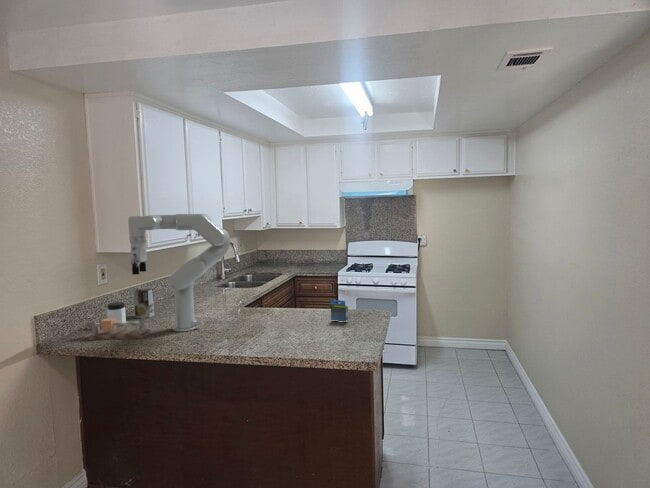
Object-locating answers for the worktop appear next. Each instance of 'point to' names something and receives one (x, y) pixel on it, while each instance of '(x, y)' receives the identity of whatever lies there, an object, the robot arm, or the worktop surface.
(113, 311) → the jar
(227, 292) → the worktop surface
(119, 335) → the cube slider rail
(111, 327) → the sleeve
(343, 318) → the label tape cartridge
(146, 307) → the coffee box
